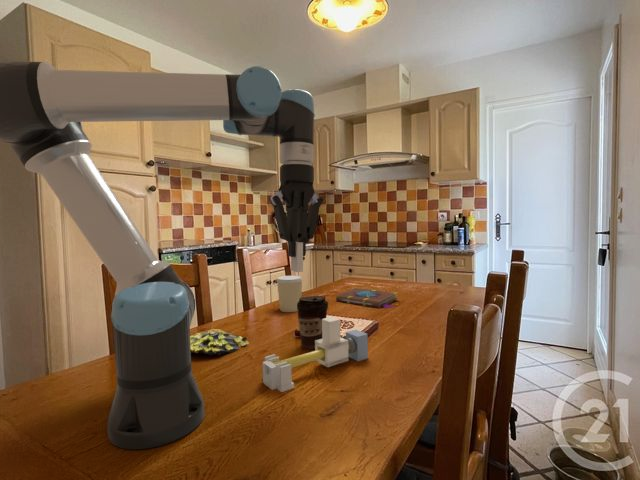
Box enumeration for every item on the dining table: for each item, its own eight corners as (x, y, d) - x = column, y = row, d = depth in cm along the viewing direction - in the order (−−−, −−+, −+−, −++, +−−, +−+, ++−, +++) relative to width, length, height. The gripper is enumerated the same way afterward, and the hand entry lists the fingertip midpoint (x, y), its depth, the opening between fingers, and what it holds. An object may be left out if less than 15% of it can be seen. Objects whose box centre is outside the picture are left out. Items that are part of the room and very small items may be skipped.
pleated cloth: (159, 352, 99) (162, 327, 100) (210, 350, 111) (211, 328, 113) (203, 356, 87) (205, 328, 88) (254, 353, 99) (256, 329, 101)
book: (390, 314, 131) (389, 300, 130) (334, 304, 146) (334, 292, 146) (409, 302, 143) (409, 289, 143) (357, 294, 159) (356, 283, 158)
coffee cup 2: (325, 352, 93) (324, 302, 92) (294, 350, 94) (292, 301, 93) (331, 340, 101) (330, 294, 100) (302, 339, 103) (301, 293, 102)
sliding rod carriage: (327, 367, 81) (326, 324, 80) (315, 360, 85) (314, 319, 84) (348, 360, 84) (347, 319, 84) (335, 354, 88) (334, 314, 88)
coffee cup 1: (307, 308, 137) (307, 276, 136) (293, 314, 129) (292, 280, 128) (288, 305, 142) (287, 274, 141) (272, 310, 134) (271, 278, 133)
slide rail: (277, 393, 72) (275, 364, 71) (259, 379, 78) (257, 352, 78) (373, 360, 87) (372, 335, 86) (351, 350, 93) (350, 327, 93)
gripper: (278, 160, 74) (279, 275, 75) (330, 165, 81) (330, 270, 82) (262, 164, 80) (263, 271, 81) (312, 169, 87) (312, 267, 89)
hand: (296, 271), depth 82 cm, fingers closed
